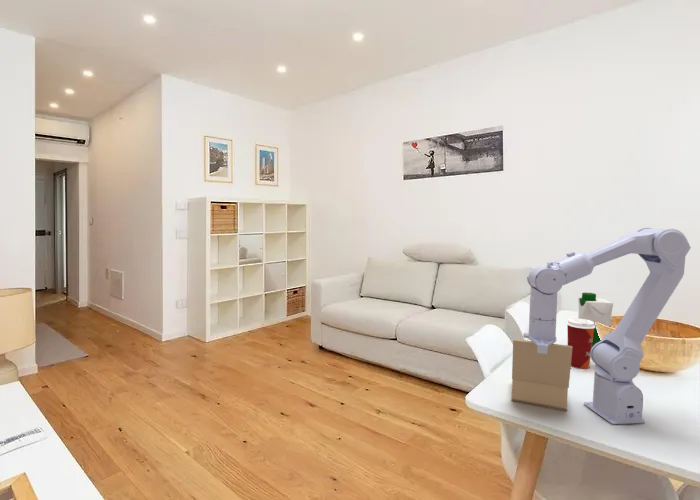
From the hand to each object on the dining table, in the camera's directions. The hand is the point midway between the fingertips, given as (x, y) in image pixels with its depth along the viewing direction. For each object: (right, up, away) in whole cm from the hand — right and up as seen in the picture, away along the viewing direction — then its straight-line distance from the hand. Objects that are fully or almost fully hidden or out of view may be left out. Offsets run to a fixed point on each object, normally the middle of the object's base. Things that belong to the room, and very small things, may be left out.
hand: (540, 373), depth 93 cm
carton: (+2, -8, +6) cm, 10 cm away
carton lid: (0, +3, -1) cm, 3 cm away
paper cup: (+25, -6, +27) cm, 38 cm away
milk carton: (+37, -5, +39) cm, 54 cm away
